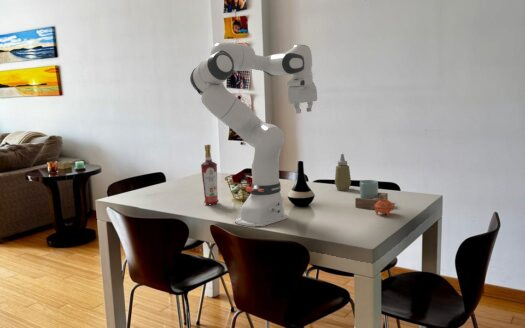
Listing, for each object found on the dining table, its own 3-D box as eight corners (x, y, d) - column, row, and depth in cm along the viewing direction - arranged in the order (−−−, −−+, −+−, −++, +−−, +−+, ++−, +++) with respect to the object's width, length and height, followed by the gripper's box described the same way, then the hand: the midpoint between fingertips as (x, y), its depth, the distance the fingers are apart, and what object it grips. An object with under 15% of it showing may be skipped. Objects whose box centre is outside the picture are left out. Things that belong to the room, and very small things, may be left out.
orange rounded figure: (375, 217, 196) (374, 200, 197) (374, 216, 204) (372, 199, 205) (396, 216, 195) (395, 199, 196) (393, 215, 203) (392, 198, 203)
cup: (377, 206, 213) (377, 183, 212) (359, 205, 216) (358, 183, 214) (378, 201, 221) (378, 180, 219) (361, 201, 223) (360, 179, 221)
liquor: (218, 201, 236) (214, 143, 231) (220, 205, 229) (216, 145, 224) (202, 203, 234) (198, 144, 230) (204, 206, 227) (200, 146, 223)
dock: (375, 209, 208) (375, 200, 207) (355, 207, 213) (355, 198, 213) (387, 202, 219) (387, 193, 219) (368, 200, 225) (368, 191, 224)
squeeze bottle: (331, 189, 249) (330, 154, 246) (342, 187, 254) (341, 152, 251) (344, 192, 242) (343, 155, 239) (354, 189, 248) (353, 153, 245)
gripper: (308, 81, 233) (309, 110, 235) (284, 82, 216) (286, 114, 219) (320, 80, 229) (320, 110, 232) (297, 82, 213) (298, 114, 215)
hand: (303, 112), depth 225 cm, fingers open, 8 cm apart
